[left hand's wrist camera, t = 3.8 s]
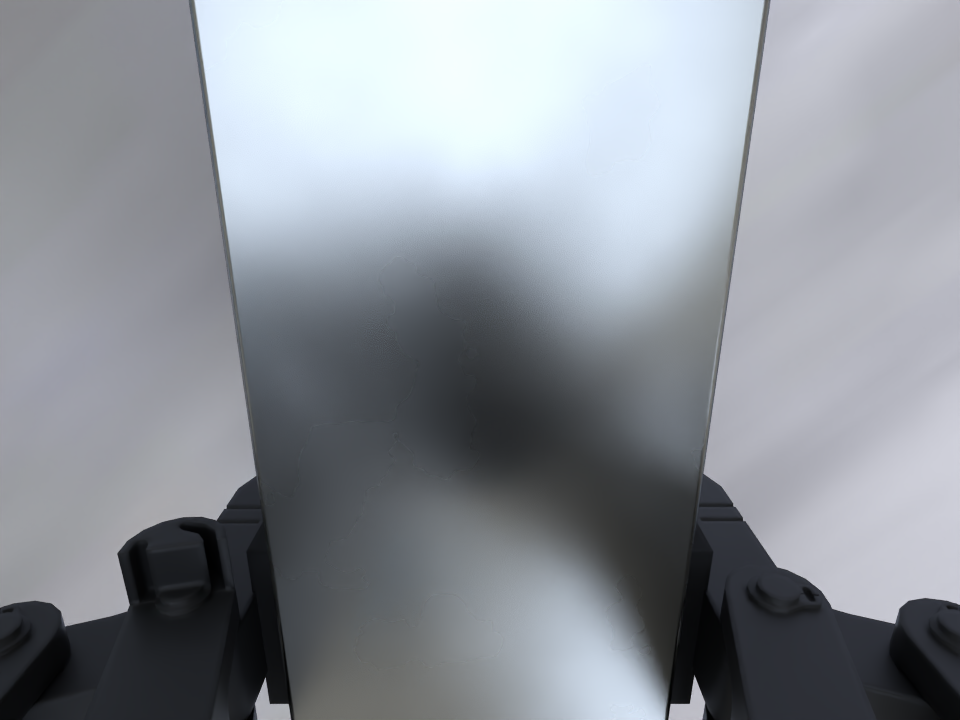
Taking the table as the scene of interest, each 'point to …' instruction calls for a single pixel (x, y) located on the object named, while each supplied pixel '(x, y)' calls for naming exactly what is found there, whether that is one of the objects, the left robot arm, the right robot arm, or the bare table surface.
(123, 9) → the table surface
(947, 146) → the table surface
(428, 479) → the bar
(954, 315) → the table surface
